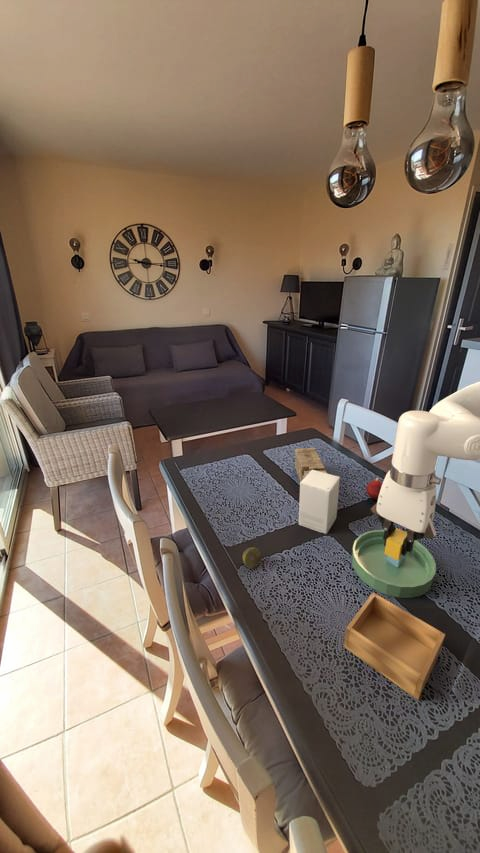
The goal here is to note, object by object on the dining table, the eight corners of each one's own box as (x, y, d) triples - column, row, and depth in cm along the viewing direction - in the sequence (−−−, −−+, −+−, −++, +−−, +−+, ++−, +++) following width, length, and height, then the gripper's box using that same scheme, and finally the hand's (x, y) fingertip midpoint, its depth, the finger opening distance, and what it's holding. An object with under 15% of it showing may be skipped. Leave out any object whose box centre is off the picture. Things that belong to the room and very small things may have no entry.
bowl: (443, 565, 92) (447, 553, 90) (415, 615, 79) (418, 602, 78) (371, 531, 104) (373, 520, 102) (337, 569, 92) (338, 557, 90)
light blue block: (405, 557, 94) (407, 545, 92) (397, 568, 91) (400, 555, 89) (394, 551, 96) (396, 539, 94) (386, 562, 93) (388, 550, 91)
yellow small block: (407, 548, 78) (410, 534, 77) (398, 561, 75) (400, 546, 74) (394, 541, 80) (396, 527, 79) (384, 553, 77) (386, 539, 75)
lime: (262, 560, 95) (262, 545, 93) (256, 573, 91) (256, 558, 89) (246, 555, 97) (246, 541, 95) (240, 568, 93) (239, 553, 91)
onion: (383, 506, 115) (387, 484, 112) (364, 503, 117) (367, 482, 113) (383, 495, 120) (386, 475, 117) (365, 493, 122) (368, 472, 118)
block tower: (334, 514, 113) (314, 465, 139) (337, 492, 109) (315, 446, 135) (309, 515, 113) (294, 465, 139) (311, 493, 109) (295, 446, 135)
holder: (439, 653, 71) (445, 634, 69) (418, 700, 64) (423, 681, 62) (369, 610, 81) (372, 591, 78) (343, 646, 73) (346, 627, 71)
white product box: (337, 518, 110) (341, 476, 104) (326, 535, 103) (330, 491, 97) (309, 509, 115) (311, 468, 108) (297, 524, 108) (299, 482, 102)
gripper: (463, 481, 67) (443, 557, 74) (379, 453, 78) (369, 522, 85) (450, 499, 62) (430, 578, 70) (362, 466, 73) (353, 538, 80)
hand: (396, 546), depth 77 cm, fingers closed on yellow small block, 3 cm apart
